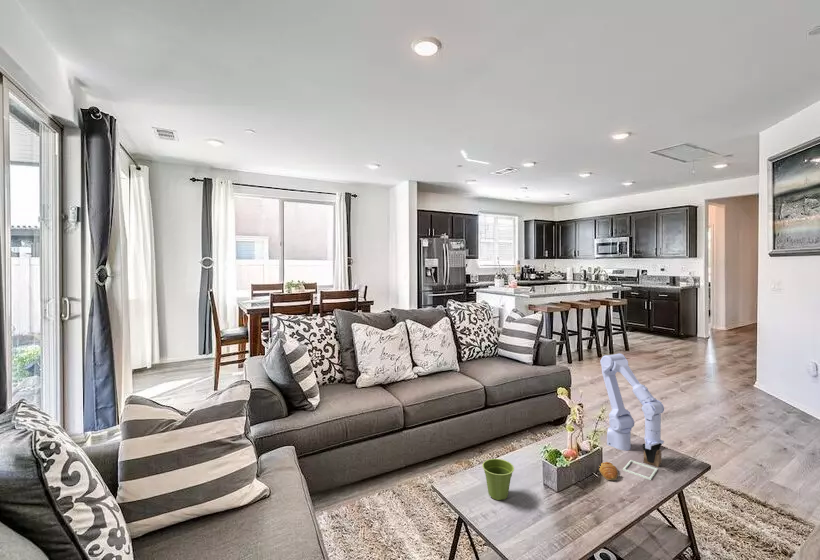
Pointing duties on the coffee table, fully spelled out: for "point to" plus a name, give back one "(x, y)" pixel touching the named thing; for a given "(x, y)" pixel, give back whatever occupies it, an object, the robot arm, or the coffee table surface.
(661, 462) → the grey base with peg
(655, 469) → the tray
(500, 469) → the plant pot
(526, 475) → the coffee table surface
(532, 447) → the coffee table surface
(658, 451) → the brown framed cube
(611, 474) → the pastry
